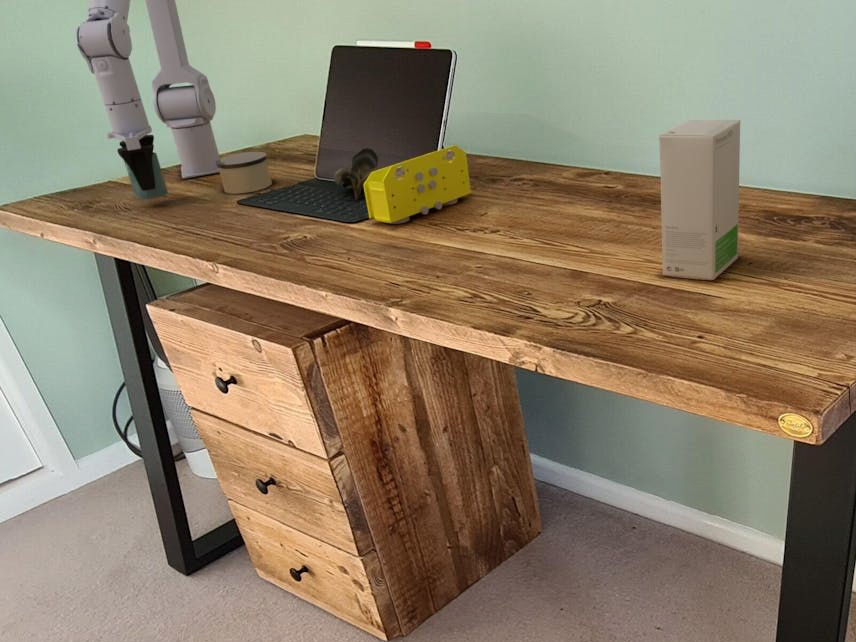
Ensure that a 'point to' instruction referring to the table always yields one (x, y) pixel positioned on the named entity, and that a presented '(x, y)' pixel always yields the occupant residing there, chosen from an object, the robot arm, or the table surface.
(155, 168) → the cup
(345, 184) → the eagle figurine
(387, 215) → the yellow toy chassis
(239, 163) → the jar
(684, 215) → the cosmetic box
